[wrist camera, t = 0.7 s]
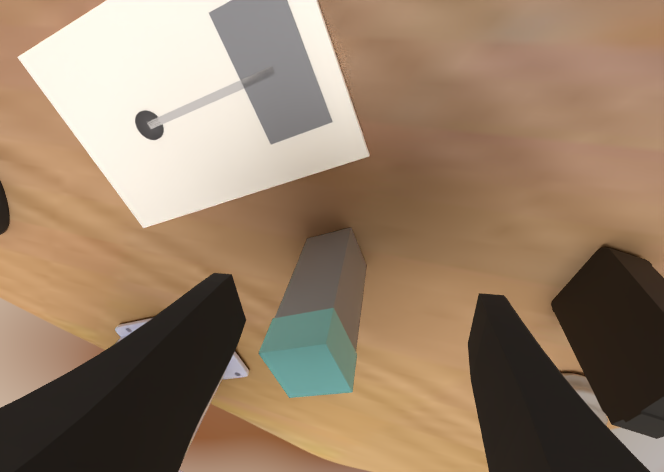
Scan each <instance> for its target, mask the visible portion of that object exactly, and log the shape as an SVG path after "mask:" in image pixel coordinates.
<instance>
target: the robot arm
mask: <svg viewBox="0 0 664 472" xmlns="http://www.w3.org/2000/svg"><path fill="white" fill-rule="evenodd" d="M245 322H246V318H245V315H244V312H243V309H242V306H241V302H240V299H239V296H238V293H237V290H236V286H235V283H234V280H233V277H232V274H219V273H213V274H212V275H210V276H209V277H208V278H206V279H205V280H203V281H202V282H201V283H199V284H198V285H196V286H195V287H194V288H192V289H191V290H190V291H188V292H187V293H186V294H184V295H183V296H182V297H180V298H179V299H178V300H176V301H175V302H174V303H172V304H171V305H170V306H168V307H167V308H166V309H164V310H163V311H162V312H160V313H159V314H158V315H156V316H155V317H153V318H150V319H145V320H140V321H135V322H130V323H125V324H120V325H118V326H117V327H116V328H115V331H116V332H117V334H118V335H119V336H120V337H121V338H120V339H119V340H118V341H117V342H116V343H115V344H114V345H113V346H111V347H110V348H108V349H107V350H105V351H103V352H102V353H100V354H99V355H97V356H95V357H94V358H92V359H90V360H89V361H87V362H85V363H84V364H82V365H80V366H79V367H77V368H75V369H74V370H72V371H70V372H68V373H67V374H65V375H63V376H61V377H59V378H57V379H56V380H54V381H52V382H50V383H48V384H46V385H44V386H42V387H40V388H39V389H37V390H35V391H33V392H31V393H29V394H27V395H26V396H24V397H22V398H20V399H18V400H16V401H14V402H12V403H10V404H7V405H5V406H4V407H1V408H0V472H183V471H181V470H179V468H180V466H181V463H182V461H183V459H184V457H185V455H186V453H187V450H188V448H189V446H190V444H191V442H192V440H193V438H194V436H195V434H196V432H197V430H198V428H199V426H200V424H201V422H202V420H203V417H204V416H205V414H206V411H207V409H208V407H209V405H210V403H211V401H212V399H213V397H214V395H215V393H216V391H217V389H218V387H219V385H220V383H221V381H222V380H223V379H232V378H240V377H246V376H248V373H249V370H248V368H247V367H246V366H245V364H244V363H243V362H242V360H241V359H240V358H239V356H238V355H237V353H236V352H235V350H236V347H237V344H238V342H239V339H240V337H241V334H242V331H243V328H244V325H245ZM468 352H469V365H470V375H471V383H472V388H473V393H474V398H475V403H476V408H477V413H478V418H479V423H480V428H481V433H482V438H483V443H484V448H485V453H486V458H487V463H488V468H489V472H650V471H649V470H648V469H647V468H646V467H645V466H644V465H643V464H642V463H641V462H640V461H639V460H638V459H637V458H636V457H635V456H634V455H633V454H632V453H631V452H630V451H629V450H628V449H627V448H626V446H625V445H624V444H623V443H622V442H621V441H620V440H619V439H618V438H617V437H616V436H615V435H614V434H613V433H612V432H611V431H610V429H609V428H608V427H607V426H606V425H605V424H604V423H603V422H602V421H601V420H600V418H599V417H598V416H597V415H596V414H595V413H594V412H593V411H592V409H591V408H590V407H589V406H588V405H587V404H586V402H585V401H584V400H583V399H582V398H581V397H580V395H579V394H578V393H577V392H576V391H575V390H574V388H573V387H572V386H571V385H570V383H569V382H568V381H567V380H566V379H565V377H564V376H563V375H562V374H561V372H560V371H559V370H558V368H557V367H556V366H555V365H554V363H553V362H552V361H551V359H550V358H549V357H548V356H547V354H546V353H545V352H544V351H543V349H542V348H541V347H540V345H539V344H538V342H537V341H536V340H535V338H534V337H533V336H532V334H531V333H530V331H529V330H528V329H527V327H526V326H525V324H524V323H523V322H522V320H521V319H520V317H519V316H518V314H517V313H516V311H515V310H514V309H513V307H512V306H511V304H510V303H509V301H508V300H507V298H506V297H505V296H504V295H492V294H479V296H478V300H477V305H476V309H475V314H474V318H473V323H472V327H471V332H470V336H469V341H468Z"/></svg>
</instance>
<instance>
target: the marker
mask: <svg viewBox="0 0 664 472" xmlns="http://www.w3.org/2000/svg"><path fill="white" fill-rule="evenodd" d="M366 267H367V265H366V263H365V260H364V258H363V255H362V253H361V250H360V248H359V245H358V243H357V241H356V238H355V236H354V233H353V231H352V228H347V229H343V230H339V231H335V232H331V233H327V234H323V235H319V236H315V237H311V238H307V240H306V242H305V245H304V247H303V250H302V252H301V255H300V257H299V260H298V262H297V264H296V267H295V269H294V272H293V274H292V277H291V279H290V282H289V284H288V287H287V289H286V291H285V294H284V296H283V299H282V301H281V304H280V306H279V309H278V311H277V314H276V316H275V318H273V319H272V322H271V324H270V327H269V329H268V331H267V334H266V336H265V339H264V341H263V344H262V346H261V348H260V351H259V355H260V356H261V358H262V359H263V361H264V362H265V363H266V365H267V366H268V368H269V369H270V371H271V372H272V374H273V375H274V376H275V378H276V379H277V381H278V382H279V384H280V385H281V386H282V388H283V389H284V391H285V392H286V394H287V395H288V397H289V398H293V397H304V396H315V395H327V394H338V393H350V392H353V384H354V375H355V367H356V359H357V353H356V347H357V339H358V331H359V323H360V315H361V307H362V299H363V291H364V283H365V275H366Z"/></svg>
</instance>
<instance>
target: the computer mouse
mask: <svg viewBox="0 0 664 472" xmlns="http://www.w3.org/2000/svg"><path fill="white" fill-rule="evenodd" d="M8 226H9V208H8V203H7V198H6V195H5V192H4V189H3V186H2V183H1V181H0V234H2V233H3V232H5V231H6V230H7V228H8Z"/></svg>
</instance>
